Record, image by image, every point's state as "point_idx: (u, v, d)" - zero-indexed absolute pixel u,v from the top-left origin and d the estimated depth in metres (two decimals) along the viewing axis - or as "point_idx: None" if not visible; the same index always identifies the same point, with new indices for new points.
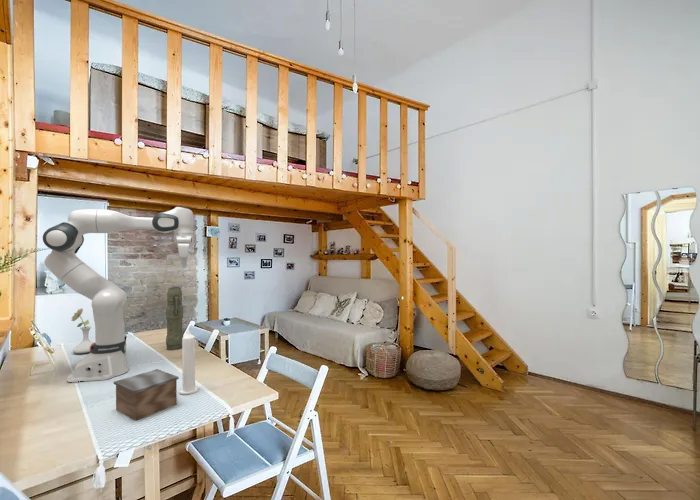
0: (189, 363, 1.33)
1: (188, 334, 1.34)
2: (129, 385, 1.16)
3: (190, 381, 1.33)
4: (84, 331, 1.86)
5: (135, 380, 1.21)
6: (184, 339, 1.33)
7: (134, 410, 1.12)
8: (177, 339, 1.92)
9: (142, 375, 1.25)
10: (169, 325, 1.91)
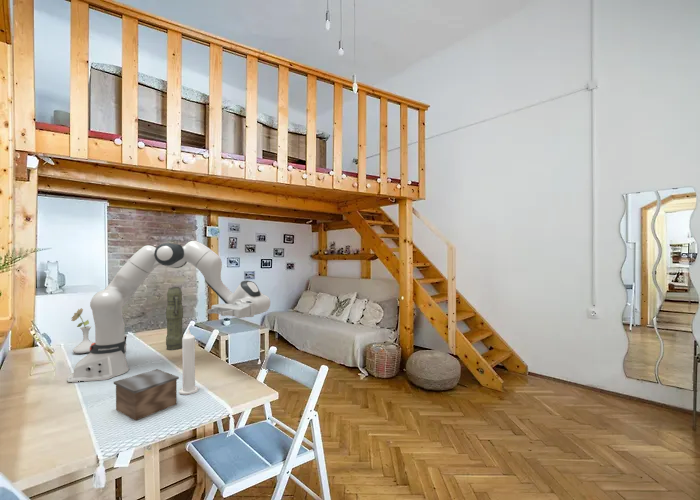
0: (189, 363, 1.33)
1: (188, 334, 1.34)
2: (129, 385, 1.16)
3: (190, 381, 1.33)
4: (84, 331, 1.86)
5: (135, 380, 1.21)
6: (184, 339, 1.33)
7: (134, 410, 1.12)
8: (177, 339, 1.92)
9: (142, 375, 1.25)
10: (169, 325, 1.91)
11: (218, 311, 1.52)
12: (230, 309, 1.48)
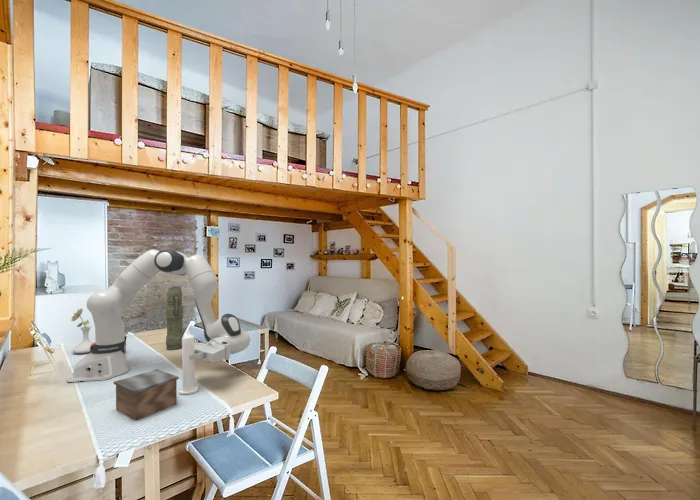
0: (189, 363, 1.33)
1: (188, 334, 1.35)
2: (129, 385, 1.16)
3: (190, 381, 1.33)
4: (84, 331, 1.86)
5: (135, 380, 1.21)
6: (184, 339, 1.33)
7: (134, 410, 1.12)
8: (177, 339, 1.92)
9: (142, 375, 1.25)
10: (169, 325, 1.91)
11: None
12: None
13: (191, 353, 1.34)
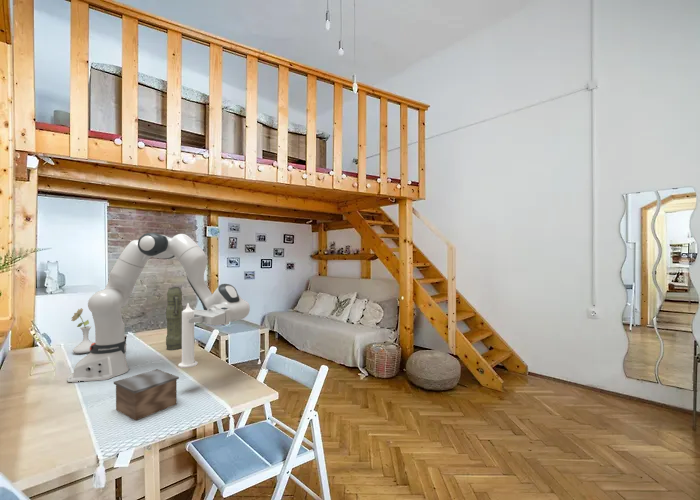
0: (188, 337, 1.34)
1: (188, 308, 1.35)
2: (129, 385, 1.16)
3: (189, 355, 1.34)
4: (84, 331, 1.86)
5: (135, 380, 1.21)
6: (183, 313, 1.33)
7: (134, 410, 1.12)
8: (177, 339, 1.92)
9: (142, 375, 1.25)
10: (169, 325, 1.91)
11: None
12: None
13: (191, 327, 1.34)
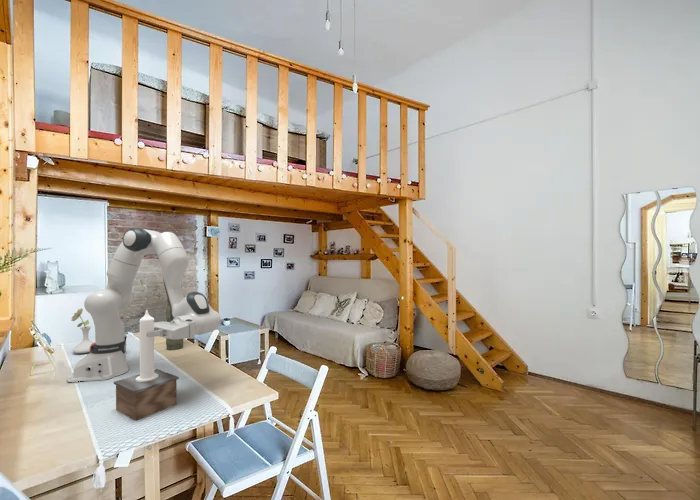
0: (147, 347, 1.20)
1: (146, 315, 1.21)
2: (129, 385, 1.16)
3: (147, 367, 1.20)
4: (84, 331, 1.86)
5: (135, 380, 1.21)
6: (141, 321, 1.20)
7: (134, 410, 1.12)
8: (177, 339, 1.92)
9: None
10: None
11: None
12: None
13: (149, 337, 1.21)
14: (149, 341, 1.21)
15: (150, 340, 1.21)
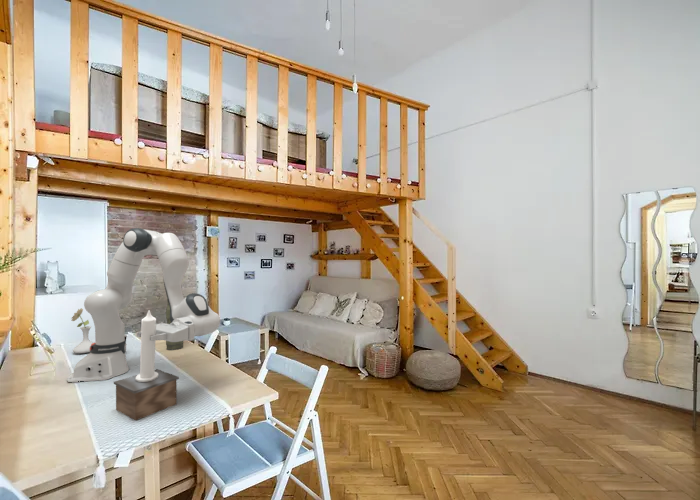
0: (148, 348, 1.19)
1: (148, 316, 1.20)
2: (129, 385, 1.16)
3: (148, 367, 1.20)
4: (84, 331, 1.86)
5: (135, 380, 1.21)
6: (143, 321, 1.18)
7: (134, 410, 1.12)
8: None
9: None
10: None
11: None
12: (163, 332, 1.24)
13: None
14: (150, 342, 1.20)
15: (151, 341, 1.20)
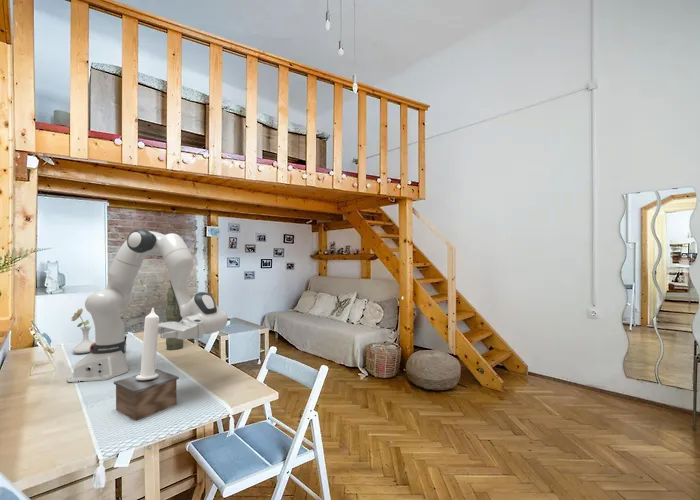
0: (150, 345, 1.22)
1: (152, 313, 1.24)
2: (129, 385, 1.16)
3: (149, 365, 1.21)
4: (84, 331, 1.86)
5: (135, 380, 1.21)
6: (147, 318, 1.22)
7: (134, 410, 1.12)
8: (177, 339, 1.92)
9: None
10: None
11: (161, 331, 1.31)
12: (173, 330, 1.27)
13: (153, 334, 1.23)
14: (153, 339, 1.22)
15: (154, 338, 1.23)
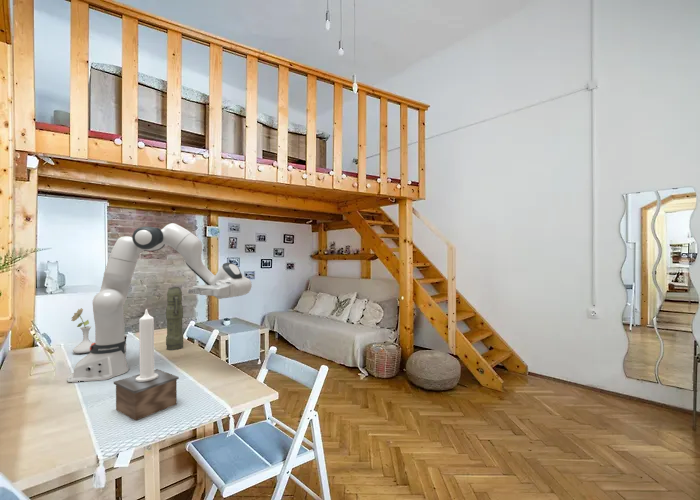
0: (147, 347, 1.21)
1: (146, 314, 1.22)
2: (129, 385, 1.16)
3: (148, 367, 1.20)
4: (84, 331, 1.86)
5: (135, 380, 1.21)
6: (141, 320, 1.21)
7: (134, 410, 1.12)
8: (177, 339, 1.92)
9: None
10: (169, 325, 1.91)
11: (198, 291, 1.55)
12: (209, 289, 1.51)
13: (149, 336, 1.21)
14: (149, 340, 1.21)
15: (150, 339, 1.21)
